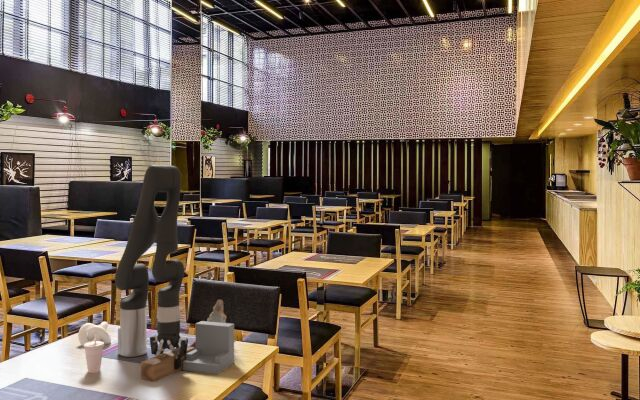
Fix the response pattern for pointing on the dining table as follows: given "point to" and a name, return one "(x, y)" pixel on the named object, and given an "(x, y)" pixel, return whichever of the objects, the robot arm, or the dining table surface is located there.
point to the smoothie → (94, 354)
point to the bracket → (211, 348)
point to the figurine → (218, 313)
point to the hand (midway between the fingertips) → (168, 367)
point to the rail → (160, 366)
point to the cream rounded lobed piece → (89, 337)
